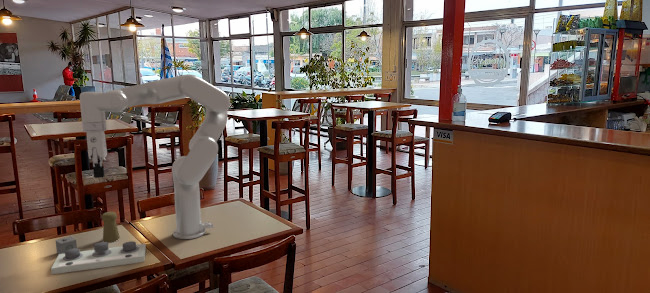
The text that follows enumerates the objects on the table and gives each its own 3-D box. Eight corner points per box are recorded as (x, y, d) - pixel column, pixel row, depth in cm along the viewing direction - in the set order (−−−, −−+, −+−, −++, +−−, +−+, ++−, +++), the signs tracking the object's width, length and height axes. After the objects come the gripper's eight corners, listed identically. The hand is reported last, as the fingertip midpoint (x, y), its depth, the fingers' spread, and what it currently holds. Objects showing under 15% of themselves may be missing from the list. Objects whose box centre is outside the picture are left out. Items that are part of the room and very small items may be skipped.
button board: (145, 248, 166) (145, 242, 165) (144, 261, 155) (143, 255, 154) (59, 259, 157) (59, 253, 156) (51, 274, 145) (50, 267, 145)
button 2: (136, 246, 162) (136, 240, 162) (136, 250, 158) (135, 245, 158) (123, 247, 161) (123, 242, 160) (122, 252, 157) (121, 246, 156)
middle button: (109, 246, 159) (108, 241, 159) (107, 251, 155) (107, 245, 155) (95, 248, 158) (94, 242, 157) (93, 253, 154) (93, 247, 153)
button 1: (81, 252, 156) (80, 247, 156) (78, 257, 152) (78, 252, 152) (66, 254, 155) (66, 249, 155) (64, 259, 151) (63, 254, 150)
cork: (113, 243, 171) (110, 215, 169) (99, 241, 172) (96, 214, 170) (123, 237, 177) (120, 210, 175) (109, 236, 178) (107, 209, 176)
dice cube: (56, 253, 162) (55, 240, 161) (71, 249, 166) (70, 236, 165) (62, 257, 159) (60, 243, 158) (77, 252, 163) (76, 239, 162)
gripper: (103, 128, 153) (108, 181, 156) (108, 123, 167) (113, 171, 170) (78, 130, 150) (84, 182, 154) (86, 124, 164) (91, 173, 168)
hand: (99, 176), depth 162 cm, fingers closed
